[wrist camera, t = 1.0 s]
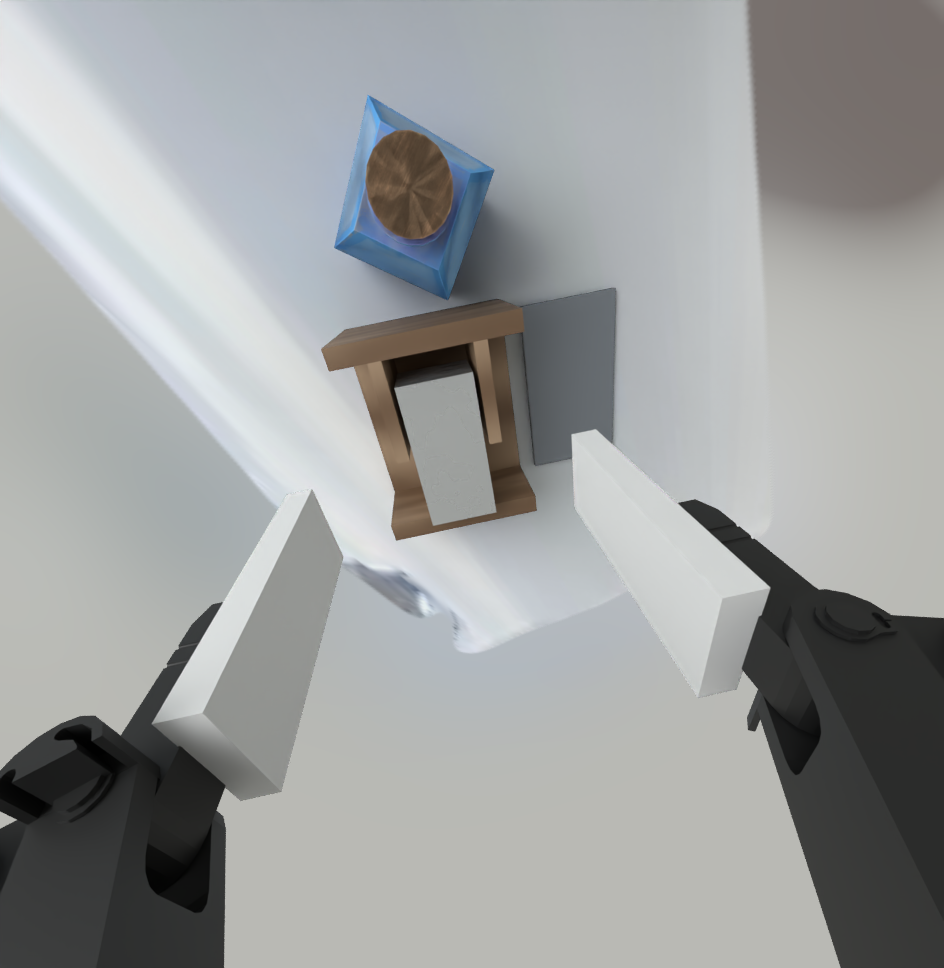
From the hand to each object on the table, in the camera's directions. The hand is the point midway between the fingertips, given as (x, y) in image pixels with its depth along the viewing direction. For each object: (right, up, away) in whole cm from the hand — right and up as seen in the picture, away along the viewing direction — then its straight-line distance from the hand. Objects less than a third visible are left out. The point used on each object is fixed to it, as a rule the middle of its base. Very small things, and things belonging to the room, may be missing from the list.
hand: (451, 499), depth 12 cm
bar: (-1, +4, +15) cm, 16 cm away
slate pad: (+9, +9, +19) cm, 22 cm away
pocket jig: (-2, +6, +19) cm, 20 cm away
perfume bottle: (-3, +17, +12) cm, 21 cm away
